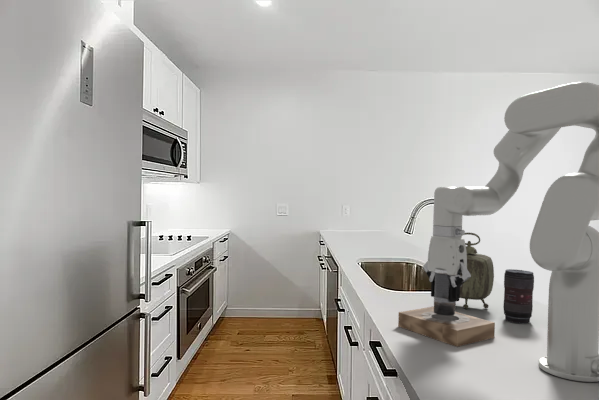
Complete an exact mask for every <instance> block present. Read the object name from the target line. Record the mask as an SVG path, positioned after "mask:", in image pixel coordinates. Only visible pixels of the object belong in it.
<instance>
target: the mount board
mask: <svg viewBox="0 0 599 400" xmlns="http://www.w3.org/2000/svg"><path fill="white" fill-rule="evenodd" d="M397 323H398V327H400V328H401V329H402V328H403V329H405V330H408V331H410V332H414V333H416V334H418V335H422V336H425V337H427V338H431V339H433V340H436V341H439V342H442V343H445V344H447V345H450V346H454V347H457V348H458V347H461V346H466V345H470V344H474V343H479V342H482V341H487V340H491V339H495V336H496V334H495V333H496V332H495V331H496V330H495V329H496V327H495V326H496V322H494V321H490V320H487V319H483V318H479V317H476V316H472V315H468V314H465V313H461V312H458V311H455V315H451V316H446V315H439V314H436V313H434V306H428V307H422V308H415V309H410V310H404V311H399V312H398V322H397ZM490 338H491V339H490Z"/></svg>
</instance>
